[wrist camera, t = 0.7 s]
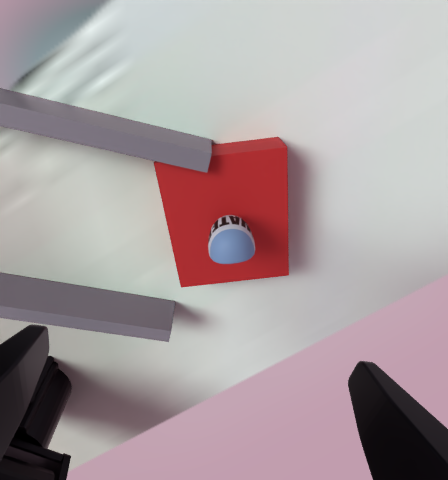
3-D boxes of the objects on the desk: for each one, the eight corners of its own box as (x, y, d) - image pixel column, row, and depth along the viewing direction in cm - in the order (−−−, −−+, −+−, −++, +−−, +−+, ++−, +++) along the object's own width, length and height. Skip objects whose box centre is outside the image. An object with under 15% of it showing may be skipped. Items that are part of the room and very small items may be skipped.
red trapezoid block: (160, 149, 19) (141, 187, 13) (277, 135, 19) (305, 167, 13) (184, 262, 23) (176, 328, 17) (280, 251, 23) (302, 314, 17)
